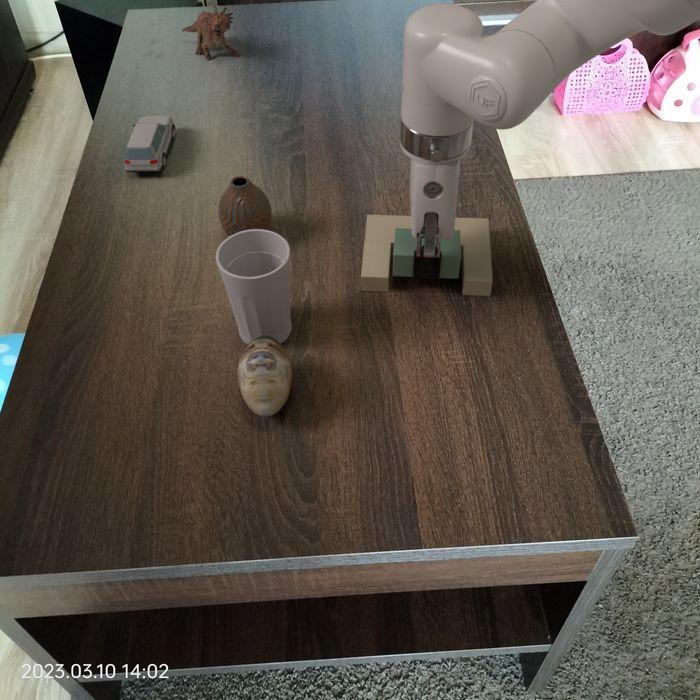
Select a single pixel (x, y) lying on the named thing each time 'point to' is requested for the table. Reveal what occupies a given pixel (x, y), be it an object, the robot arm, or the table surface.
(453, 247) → the green block
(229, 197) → the vase
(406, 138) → the robot arm
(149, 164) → the toy car
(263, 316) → the cup
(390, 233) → the beige c-shaped block
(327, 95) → the table surface
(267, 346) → the seashell
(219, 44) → the dinosaur figurine
